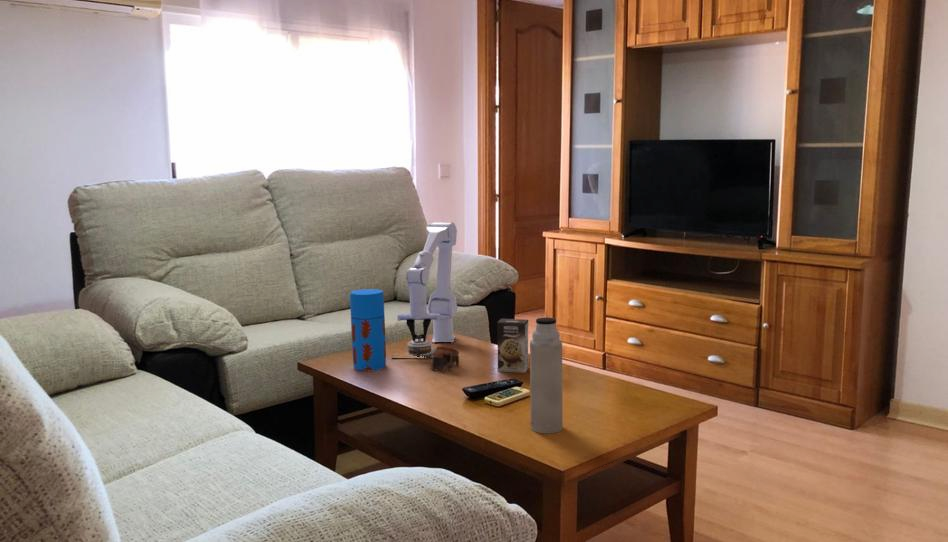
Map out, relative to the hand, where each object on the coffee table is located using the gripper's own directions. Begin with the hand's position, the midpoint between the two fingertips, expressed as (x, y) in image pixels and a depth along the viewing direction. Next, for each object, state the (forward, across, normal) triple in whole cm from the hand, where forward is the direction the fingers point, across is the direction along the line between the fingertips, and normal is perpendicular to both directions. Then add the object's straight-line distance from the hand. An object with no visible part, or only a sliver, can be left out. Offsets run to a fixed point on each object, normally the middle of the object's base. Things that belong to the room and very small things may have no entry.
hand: (419, 340), depth 272 cm
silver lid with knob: (+1, 0, 0) cm, 1 cm away
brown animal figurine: (+5, +10, -19) cm, 23 cm away
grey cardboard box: (+5, +32, -22) cm, 39 cm away
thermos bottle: (+5, +39, -76) cm, 86 cm away
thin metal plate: (+5, 0, 0) cm, 5 cm away
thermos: (+5, -15, -16) cm, 22 cm away
